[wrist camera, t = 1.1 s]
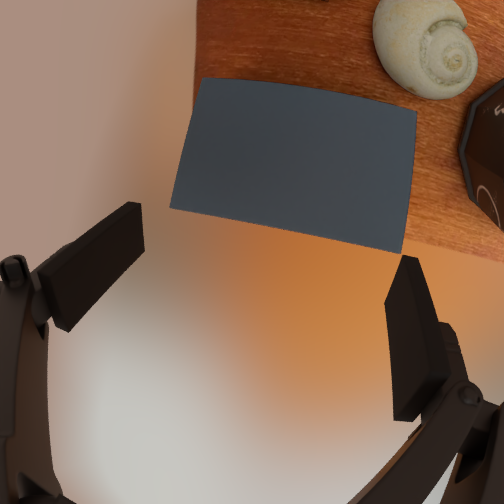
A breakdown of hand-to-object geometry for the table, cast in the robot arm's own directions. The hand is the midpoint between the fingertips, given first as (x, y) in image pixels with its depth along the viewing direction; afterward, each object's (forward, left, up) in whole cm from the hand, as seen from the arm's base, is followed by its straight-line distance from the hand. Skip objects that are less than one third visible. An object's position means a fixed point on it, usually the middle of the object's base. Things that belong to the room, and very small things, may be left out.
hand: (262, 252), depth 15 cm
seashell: (-17, +6, -24) cm, 29 cm away
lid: (-2, 0, -12) cm, 12 cm away
